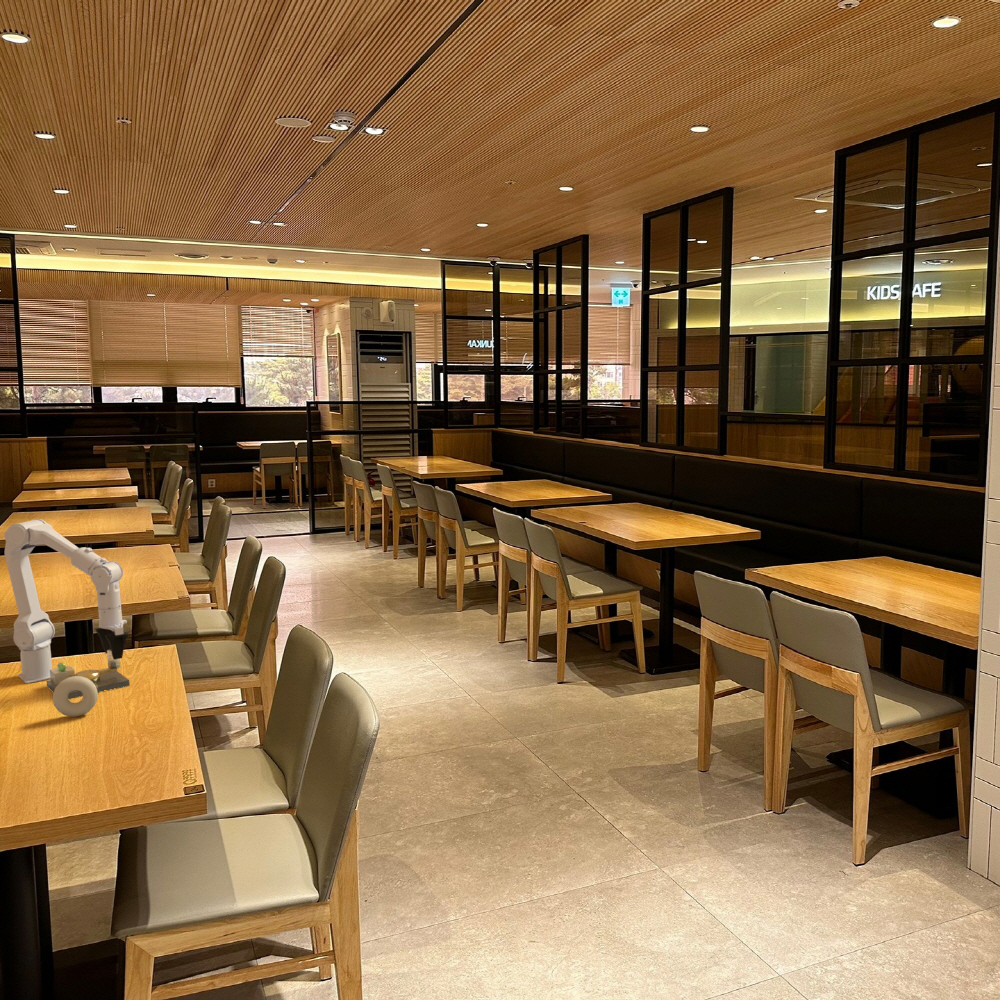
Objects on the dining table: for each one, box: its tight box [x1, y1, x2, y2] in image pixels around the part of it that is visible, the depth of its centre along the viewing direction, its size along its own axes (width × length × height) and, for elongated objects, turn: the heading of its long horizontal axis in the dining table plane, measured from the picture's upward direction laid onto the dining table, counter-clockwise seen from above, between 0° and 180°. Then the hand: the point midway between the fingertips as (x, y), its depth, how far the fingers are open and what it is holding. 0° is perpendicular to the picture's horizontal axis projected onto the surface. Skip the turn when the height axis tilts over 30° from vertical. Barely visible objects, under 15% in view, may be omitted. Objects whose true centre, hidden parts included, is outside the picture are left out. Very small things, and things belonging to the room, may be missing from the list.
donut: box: [52, 676, 99, 718], centre depth 217 cm, size 10×4×10 cm, turn 113°
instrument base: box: [46, 662, 130, 700], centre depth 240 cm, size 15×17×6 cm
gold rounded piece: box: [75, 649, 121, 682], centre depth 241 cm, size 12×6×7 cm, turn 129°
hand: (113, 655), depth 244 cm, fingers open, 7 cm apart
